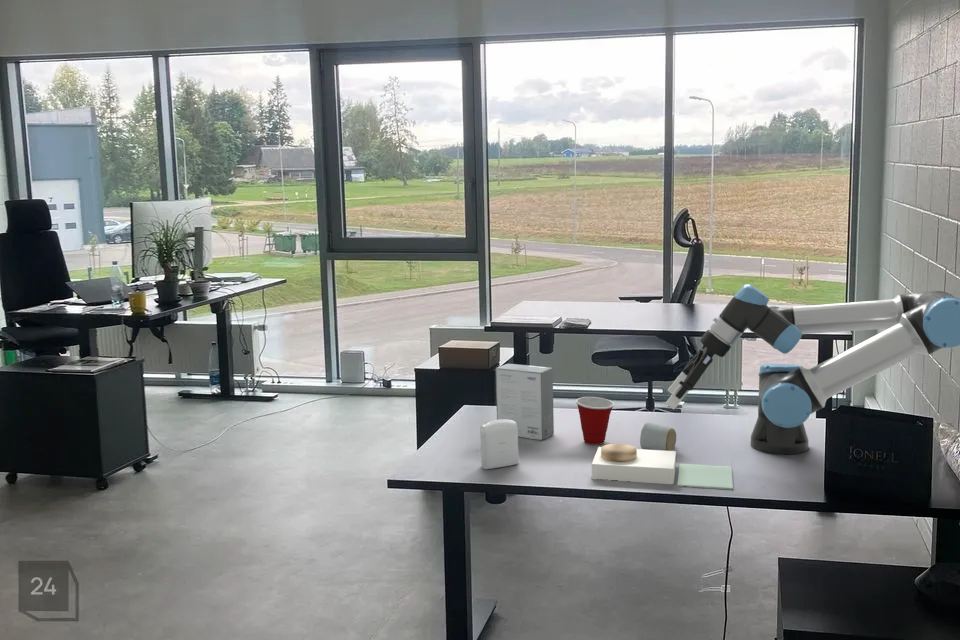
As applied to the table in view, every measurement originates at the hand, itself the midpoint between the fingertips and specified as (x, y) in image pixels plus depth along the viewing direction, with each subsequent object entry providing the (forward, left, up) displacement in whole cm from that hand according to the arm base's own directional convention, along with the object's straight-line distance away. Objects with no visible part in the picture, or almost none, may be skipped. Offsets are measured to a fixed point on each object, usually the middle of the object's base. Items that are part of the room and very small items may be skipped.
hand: (670, 399), depth 243 cm
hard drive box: (+42, -12, -16) cm, 47 cm away
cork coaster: (+12, +16, -11) cm, 23 cm away
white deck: (+8, +16, -15) cm, 23 cm away
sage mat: (-9, +16, -15) cm, 24 cm away
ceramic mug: (+3, -5, -16) cm, 17 cm away
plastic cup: (+21, -8, -16) cm, 28 cm away
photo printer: (+43, +17, -16) cm, 49 cm away
